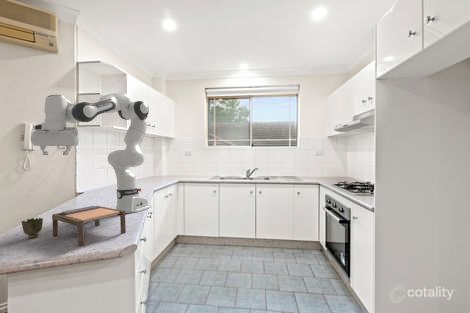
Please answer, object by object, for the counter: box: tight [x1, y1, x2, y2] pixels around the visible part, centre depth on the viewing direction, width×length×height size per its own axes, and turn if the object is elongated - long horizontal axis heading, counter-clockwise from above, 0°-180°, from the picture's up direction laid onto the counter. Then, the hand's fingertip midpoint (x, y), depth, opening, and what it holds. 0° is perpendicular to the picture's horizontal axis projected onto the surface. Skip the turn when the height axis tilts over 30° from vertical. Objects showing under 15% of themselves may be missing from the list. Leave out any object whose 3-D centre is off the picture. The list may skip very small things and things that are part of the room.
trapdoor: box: [61, 205, 120, 222], centre depth 113 cm, size 16×21×2 cm
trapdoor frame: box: [51, 205, 127, 247], centre depth 114 cm, size 20×24×10 cm
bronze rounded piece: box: [21, 217, 44, 239], centre depth 111 cm, size 8×7×8 cm
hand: (55, 155), depth 123 cm, fingers open, 8 cm apart
